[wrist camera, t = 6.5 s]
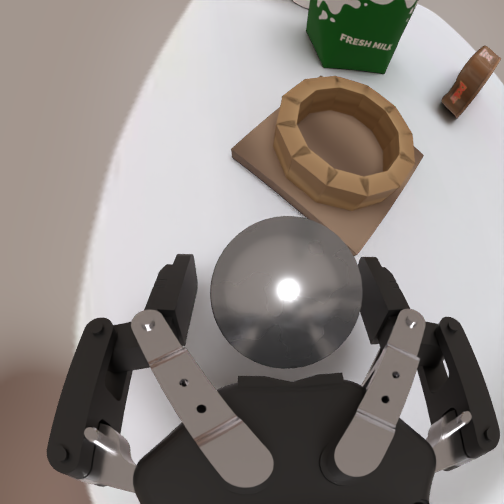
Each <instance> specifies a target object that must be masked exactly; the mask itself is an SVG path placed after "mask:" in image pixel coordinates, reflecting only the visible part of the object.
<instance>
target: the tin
mask: <svg viewBox="0 0 504 504" xmlns="http://www.w3.org/2000/svg"><path fill="white" fill-rule="evenodd" d="M500 60H501V58H500V57H498V56H497V55H496V54H495V53H494V52H493V51H492V50H491V49H490V48H488V47H487V46H483V47H482V48H481V49H479V50H478V51H477V52H476V53H475V54H474V55H473V56H472V57H471V58H470V59H469V61H468V62H467V63H466V64H465V66H464V67H463V69H462V70H461V72H460V73H459V75H458V77H457V79H456V82H455V83H454V85H453V87H452V88H451V89H450V91H449V92H448V93H447V94H446V95H445V96H444V97H443V98H442V103H443V104H444V105H445V106H446V107H447V108H448V109H449V110H450V111H451V112H452V113H453V114H454V115H455V116H456V118H458V117H459V116H460V115H461V114H462V112H463V111H464V110H465V109H466V108H467V107H468V105H469V104H470V103H471V101H472V100H473V99H474V98H475V96H476V95H477V94H478V92H479V91H480V90H481V88H482V87H483V86H484V85H485V83H486V82H487V80H488V79H489V77H490V76H491V74H492V73H493V71H494V70H495V68H496V67H497V65H498V63H499V62H500Z"/></svg>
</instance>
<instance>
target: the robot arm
mask: <svg viewBox="0 0 504 504" xmlns="http://www.w3.org/2000/svg"><path fill="white" fill-rule="evenodd" d="M358 268H359V271H360V275H361V281H362V303H361V308H360V313H361V316H362V319H363V322H364V325H365V328H366V331H367V334H368V337H369V340H370V343H371V344H380V349H379V351H378V353H377V355H376V357H375V359H374V361H373V363H372V365H371V367H370V369H369V371H368V373H367V375H366V377H365V379H364V381H363V382H362V384H361V385H359V384H357V383H354V382H351V381H348V380H343V375H342V373H332V374H319V375H315V376H312V377H308V378H305V379H301V380H298V381H294V382H290V381H284V380H279V379H274V378H270V377H265V376H238V383H235V384H231V385H228V386H225V387H223V388H221V389H219V390H217V391H216V389H215V388H214V387H213V385H212V384H211V383H210V381H209V380H208V378H207V377H206V376H205V374H204V373H203V372H202V370H201V369H200V367H199V366H198V364H197V363H196V362H195V360H194V359H193V357H192V356H191V354H190V353H189V351H188V350H187V349H186V348H183V347H182V346H185V344H186V339H187V334H188V329H189V325H190V320H191V316H192V311H193V307H194V302H195V298H196V293H197V275H196V268H195V261H194V256H193V254H177V255H176V258H175V260H174V263H173V265H171V264H167V265H165V266H164V267H163V268H162V269H161V270H160V272H159V274H158V276H157V279H156V281H155V284H154V287H153V289H152V291H151V294H150V296H149V299H148V302H147V304H146V307H145V309H144V311H141V312H139V313H138V314H136V315H135V316H134V318H133V319H132V322H129V323H124V324H118V325H113V324H112V323H111V321H110V320H109V319H107V318H96V319H94V320H92V321H90V322H89V323H88V324H87V326H86V327H85V329H84V331H83V334H82V336H81V339H80V341H79V344H78V347H77V349H76V352H75V354H74V357H73V360H72V363H71V365H70V368H69V371H68V374H67V378H66V380H65V383H64V386H63V389H62V393H61V396H60V399H59V403H58V406H57V410H56V414H55V417H54V421H53V425H52V429H51V433H50V438H49V442H48V447H47V458H48V460H49V462H50V464H51V466H52V467H53V468H54V469H55V470H57V471H58V472H60V473H63V474H65V475H68V476H70V477H71V478H73V479H76V480H79V481H82V482H85V483H88V484H94V485H97V486H101V487H104V486H110V487H114V488H117V489H121V490H125V491H129V492H134V493H136V496H137V498H138V500H139V502H140V504H429V495H430V489H431V484H432V480H433V477H434V474H435V473H436V472H438V471H441V470H444V471H450V470H453V469H455V468H457V467H459V466H461V465H464V464H466V463H468V462H470V461H472V460H474V459H476V458H478V457H480V456H482V455H484V454H486V453H487V452H489V451H491V450H493V449H494V448H495V447H496V446H497V444H498V442H499V438H500V431H499V426H498V422H497V419H496V415H495V411H494V408H493V405H492V401H491V398H490V395H489V392H488V389H487V386H486V383H485V380H484V378H483V375H482V372H481V370H480V367H479V365H478V362H477V360H476V357H475V355H474V352H473V350H472V348H471V345H470V343H469V341H468V339H467V336H466V334H465V332H464V330H463V328H462V326H461V324H460V323H459V322H458V321H457V320H455V319H454V318H451V317H444V318H443V319H442V320H441V321H440V323H439V324H435V323H430V322H425V320H424V318H423V316H422V315H421V314H420V313H419V312H417V311H415V310H413V309H410V307H409V305H408V303H407V301H406V299H405V297H404V295H403V293H402V292H401V290H400V289H399V286H398V284H397V283H396V280H395V278H394V276H393V275H392V273H391V272H390V271H389V270H387V269H386V268H385V267H382V266H381V265H380V263H379V261H378V259H377V258H376V257H361V258H360V260H359V264H358ZM444 359H445V361H446V364H447V367H448V370H449V378H448V376H447V373H446V370H445V367H444V364H443V360H444ZM149 367H151V369H152V371H153V373H154V375H155V377H156V379H157V380H158V382H159V384H160V386H161V388H162V389H163V391H164V393H165V395H166V396H167V398H168V400H169V401H170V403H171V405H172V406H173V408H174V410H175V411H176V413H177V415H178V416H179V418H180V419H181V421H182V423H181V424H180V425H179V426H178V427H176V428H175V429H174V430H173V431H172V432H171V433H170V434H169V435H168V436H167V437H165V438H164V439H163V440H162V441H161V442H160V443H159V444H158V445H156V446H155V447H154V448H153V449H152V450H151V451H150V452H148V453H147V454H146V455H145V456H144V457H143V458H142V459H141V460H140V461H139V462H138V464H137V465H136V464H135V463H134V462H133V460H132V458H131V453H130V445H129V443H128V441H127V440H126V438H124V437H123V436H122V435H121V434H120V433H121V427H122V421H123V415H124V410H125V405H126V400H127V395H128V390H129V385H130V380H131V376H132V371H133V370H137V369H143V368H149ZM416 371H418V374H419V378H420V381H421V385H422V389H423V392H424V396H425V400H426V404H427V408H428V413H429V417H430V422H431V427H430V429H429V431H428V437H427V438H426V440H425V439H424V438H423V437H422V436H420V435H419V434H418V433H417V432H416V431H414V430H413V429H412V428H411V427H410V426H409V425H407V424H406V423H405V422H404V421H403V420H402V419H400V418H399V416H400V414H401V412H402V409H403V407H404V404H405V402H406V399H407V396H408V394H409V391H410V388H411V386H412V383H413V380H414V377H415V374H416Z"/></svg>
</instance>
